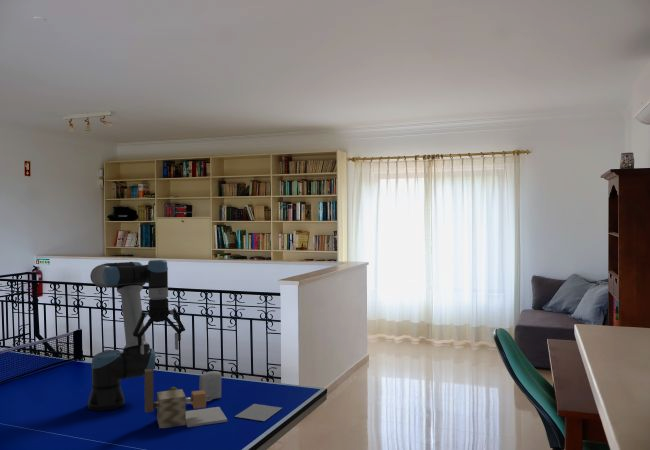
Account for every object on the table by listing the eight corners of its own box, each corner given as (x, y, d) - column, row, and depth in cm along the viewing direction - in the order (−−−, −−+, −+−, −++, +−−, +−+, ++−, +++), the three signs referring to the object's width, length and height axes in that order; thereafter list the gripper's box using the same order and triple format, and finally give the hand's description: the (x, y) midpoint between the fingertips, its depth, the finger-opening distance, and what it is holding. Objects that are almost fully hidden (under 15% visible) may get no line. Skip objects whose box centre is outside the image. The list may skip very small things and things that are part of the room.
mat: (187, 427, 215) (187, 424, 215) (182, 414, 230) (182, 411, 230) (227, 421, 221) (227, 419, 221) (219, 408, 236) (219, 406, 236)
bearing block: (159, 428, 214) (159, 399, 214) (157, 419, 223) (156, 392, 223) (185, 424, 218) (185, 396, 218) (182, 416, 227) (182, 389, 227)
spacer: (193, 408, 221) (193, 395, 221) (191, 404, 226) (191, 391, 226) (206, 407, 223) (205, 393, 223) (203, 403, 228) (203, 390, 228)
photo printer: (219, 395, 254) (219, 368, 254) (222, 398, 250) (222, 371, 250) (197, 399, 248) (197, 372, 248) (201, 402, 245) (201, 374, 245)
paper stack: (214, 415, 229) (214, 413, 229) (244, 397, 253) (244, 395, 252) (264, 422, 221) (264, 421, 221) (290, 403, 244) (290, 401, 244)
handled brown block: (145, 412, 215) (145, 372, 215) (144, 409, 219) (144, 369, 218) (211, 403, 225) (211, 365, 224) (210, 400, 228) (209, 362, 228)
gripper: (127, 301, 211) (129, 357, 210) (191, 296, 223) (193, 348, 222) (124, 300, 217) (125, 354, 216) (186, 295, 230) (188, 346, 229)
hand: (159, 351), depth 219 cm, fingers open, 13 cm apart
